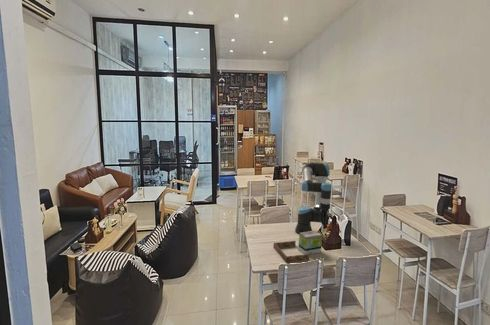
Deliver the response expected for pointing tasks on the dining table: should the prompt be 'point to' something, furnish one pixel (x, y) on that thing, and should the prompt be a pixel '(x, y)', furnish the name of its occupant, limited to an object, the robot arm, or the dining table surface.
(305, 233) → the tea box
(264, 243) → the dining table surface
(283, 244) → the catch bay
